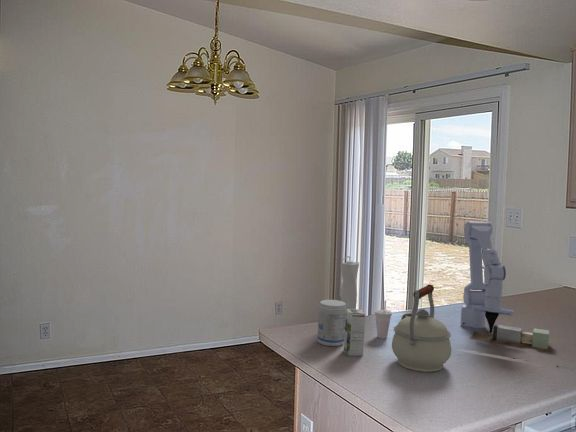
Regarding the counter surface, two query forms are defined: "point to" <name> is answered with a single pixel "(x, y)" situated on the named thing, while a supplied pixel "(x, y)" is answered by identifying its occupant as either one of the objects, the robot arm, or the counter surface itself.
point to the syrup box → (354, 332)
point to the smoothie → (382, 322)
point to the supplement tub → (331, 322)
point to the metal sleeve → (509, 334)
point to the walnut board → (489, 338)
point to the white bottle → (349, 283)
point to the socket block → (540, 338)
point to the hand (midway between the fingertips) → (491, 332)
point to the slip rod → (524, 335)
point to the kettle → (422, 338)
